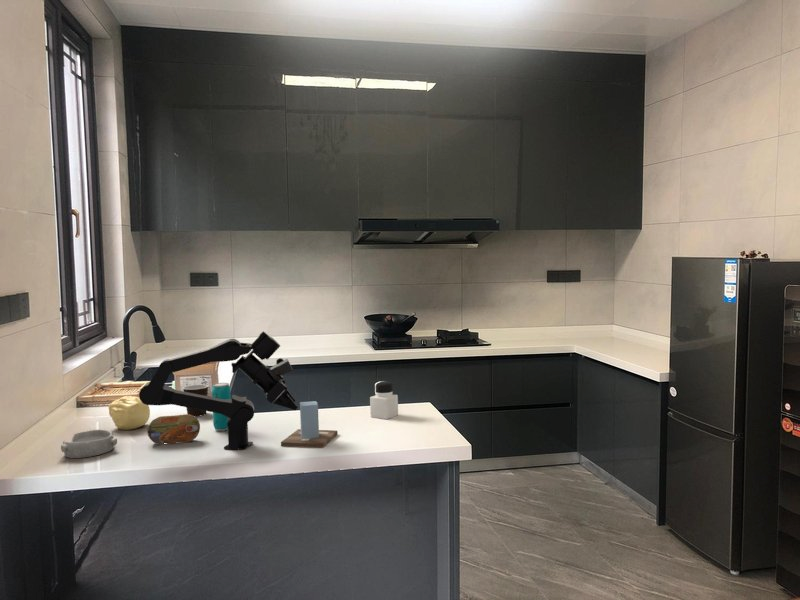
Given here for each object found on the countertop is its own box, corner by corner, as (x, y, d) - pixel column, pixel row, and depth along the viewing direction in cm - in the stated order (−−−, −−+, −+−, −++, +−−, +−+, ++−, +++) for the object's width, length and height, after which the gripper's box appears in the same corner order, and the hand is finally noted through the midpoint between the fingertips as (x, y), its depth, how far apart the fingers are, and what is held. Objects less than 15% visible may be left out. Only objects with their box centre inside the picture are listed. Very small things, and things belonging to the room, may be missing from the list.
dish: (60, 462, 172) (59, 445, 172) (65, 449, 185) (64, 432, 184) (117, 455, 178) (116, 438, 177) (118, 442, 190) (117, 426, 190)
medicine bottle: (398, 415, 215) (397, 381, 215) (387, 419, 209) (386, 384, 209) (381, 412, 219) (380, 379, 218) (370, 417, 213) (369, 382, 212)
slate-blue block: (302, 439, 184) (301, 405, 184) (300, 434, 189) (299, 402, 188) (319, 437, 185) (317, 404, 185) (317, 433, 190) (316, 401, 190)
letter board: (323, 447, 179) (322, 443, 179) (281, 446, 182) (280, 441, 182) (337, 434, 193) (337, 430, 193) (298, 432, 195) (298, 429, 195)
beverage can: (225, 426, 206) (223, 381, 205) (235, 428, 202) (233, 383, 201) (210, 430, 201) (208, 384, 200) (220, 432, 198) (218, 386, 197)
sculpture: (104, 430, 205) (102, 398, 204) (134, 421, 215) (132, 390, 215) (127, 433, 200) (125, 400, 199) (157, 424, 210) (156, 393, 209)
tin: (148, 445, 186) (146, 418, 185) (150, 442, 189) (148, 415, 188) (200, 441, 189) (198, 414, 188) (201, 438, 192) (200, 412, 191)
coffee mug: (199, 410, 229) (198, 383, 229) (214, 413, 224) (213, 386, 224) (172, 417, 220) (170, 389, 219) (186, 420, 215) (185, 392, 214)
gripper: (277, 355, 174) (317, 391, 178) (274, 347, 192) (311, 379, 196) (249, 384, 173) (290, 420, 176) (249, 373, 191) (286, 406, 194)
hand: (295, 405), depth 186 cm, fingers open, 9 cm apart
